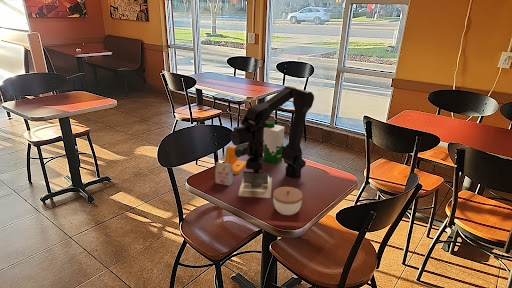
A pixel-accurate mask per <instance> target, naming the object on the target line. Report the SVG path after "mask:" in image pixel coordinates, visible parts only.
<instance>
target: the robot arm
mask: <svg viewBox="0 0 512 288" xmlns="http://www.w3.org/2000/svg"><path fill="white" fill-rule="evenodd" d="M290 100H292V106H293V108H294V113H293V119H292V124H291V129H290V135H289V139H288V143H287V144H286V145H285V146H284V145H283V150H282V153H281V155H282V161H283V163H284V164H286V165H285V173H284V174H285V177H289V178H290V179H298V178H302V169H304V167H305V166H306V163H307V162H306V161H305V160H304V159H303V158H302V157H303V150H302V148H301V143H302V138H303V137H302V136H303V132H304V127H305V121H306V118H307V113H308V112H309V111H310V110H311V108H312V107H313V104H314V101H315V95H314V94H313V92H312V91H308V90H304V89H299V88H296V87H295V86H289V85H287V86H285V87H284V88H283V89H281V91H279V92H277V93H276V94H275V95H273V96H271V97H270V98H269V99H267V100H265V101H264V102H261V103H257V104H254V105H252V106H250V107H248V108H247V109H246V113H245V115H244V116H243V119H242V121H241V123H240V126H235V127H233V130H232V131H231V132H230V135H229V136H230V141H231V143H232V144H233V146H236V147H235V149H234V151H235V156H237V159H239V158H240V157H241V158H242V157H243V156H247V157H248V158H247V159H246V161H245V162H246V167H245V169H246V170H252V172H260V170H263V166H264V162H263V160H264V152H265V145H264V128H266V127H268V125H267V124H266V122H268V120H269V119H270V117H271V115H272V114H273V112H275V111H276V110H278V109H279V108H280V107H282V106H283V105H285V104H286V103H287V102H289V101H290Z"/></svg>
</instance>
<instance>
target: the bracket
mask: <svg viewBox="0 0 512 288" xmlns="http://www.w3.org/2000/svg"><path fill="white" fill-rule="evenodd" d="M235 147H236V146H235V145H231V144H228V145H227V147H226V150H225V154H224V155H225V156H224V163H225V164H231V167H232V170H233V175H240V173H241V172H243V171H244V169H246V161H245V160H241V159H240V160H239V159H238V158H237V156H235V151H234V149H235Z"/></svg>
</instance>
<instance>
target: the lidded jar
mask: <svg viewBox="0 0 512 288" xmlns="http://www.w3.org/2000/svg"><path fill="white" fill-rule="evenodd" d="M272 196H273V201H272V202H273V206H274V208H275V209H276V211H277V213H279V214H281V215H284V216H292V215H295V214H296V213H298V211H299V210H300V208H301V206H302V202H303V192H302V191H301V190H300V189H298V188H296V187H293V186H292V187H291V186H281V187H278V188H276V189H275V190H273V195H272Z"/></svg>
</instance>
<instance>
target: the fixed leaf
mask: <svg viewBox="0 0 512 288" xmlns="http://www.w3.org/2000/svg"><path fill="white" fill-rule="evenodd" d="M269 178H270V175H268V182H269ZM244 186H250V183H244ZM262 187H268V184H262Z"/></svg>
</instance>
